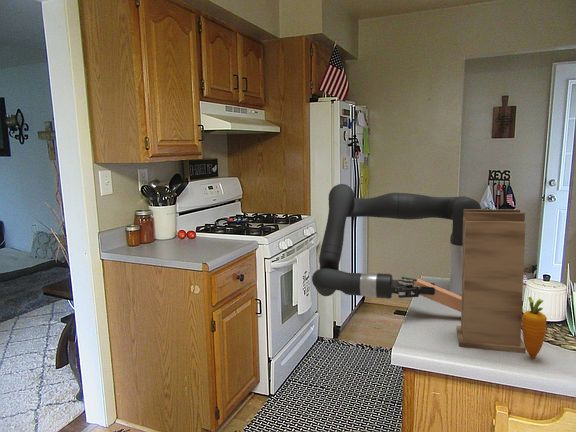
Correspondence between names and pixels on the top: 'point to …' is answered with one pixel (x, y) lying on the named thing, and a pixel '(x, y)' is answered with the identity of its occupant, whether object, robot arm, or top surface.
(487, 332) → the stand
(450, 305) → the bar
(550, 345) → the top surface
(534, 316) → the carrot
